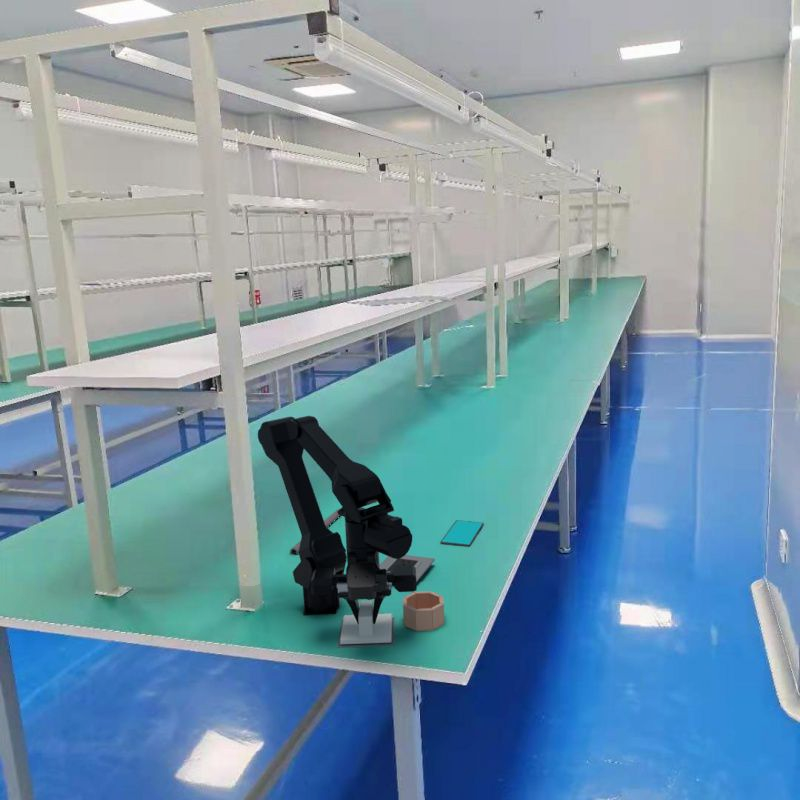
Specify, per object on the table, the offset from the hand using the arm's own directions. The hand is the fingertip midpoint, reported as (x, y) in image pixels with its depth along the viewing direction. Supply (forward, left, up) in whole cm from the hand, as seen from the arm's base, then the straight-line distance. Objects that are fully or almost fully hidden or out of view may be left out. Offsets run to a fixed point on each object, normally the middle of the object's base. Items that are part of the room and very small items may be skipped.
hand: (366, 623), depth 132 cm
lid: (0, 0, -1) cm, 1 cm away
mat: (0, 0, -2) cm, 2 cm away
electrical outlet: (+7, +24, -3) cm, 26 cm away
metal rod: (-14, +50, -3) cm, 53 cm away
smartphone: (+22, +46, -3) cm, 51 cm away
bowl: (+11, +3, -2) cm, 11 cm away
